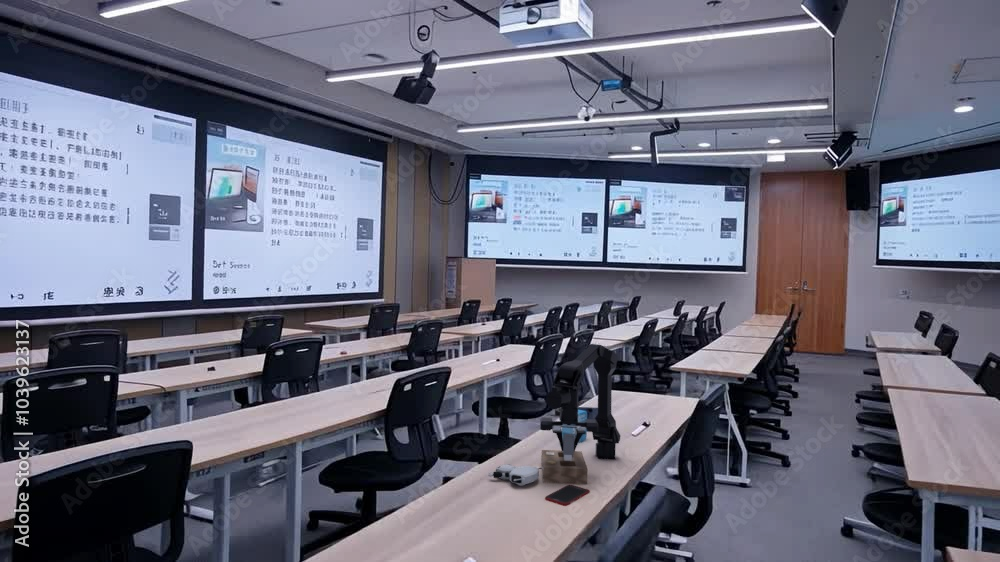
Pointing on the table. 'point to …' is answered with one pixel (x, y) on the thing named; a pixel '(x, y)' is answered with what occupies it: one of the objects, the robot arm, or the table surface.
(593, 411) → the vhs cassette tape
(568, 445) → the plug
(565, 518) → the table surface
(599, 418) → the robot arm
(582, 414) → the data package
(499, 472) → the robot toy
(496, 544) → the table surface
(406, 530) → the table surface
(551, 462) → the socket box
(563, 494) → the cell phone
